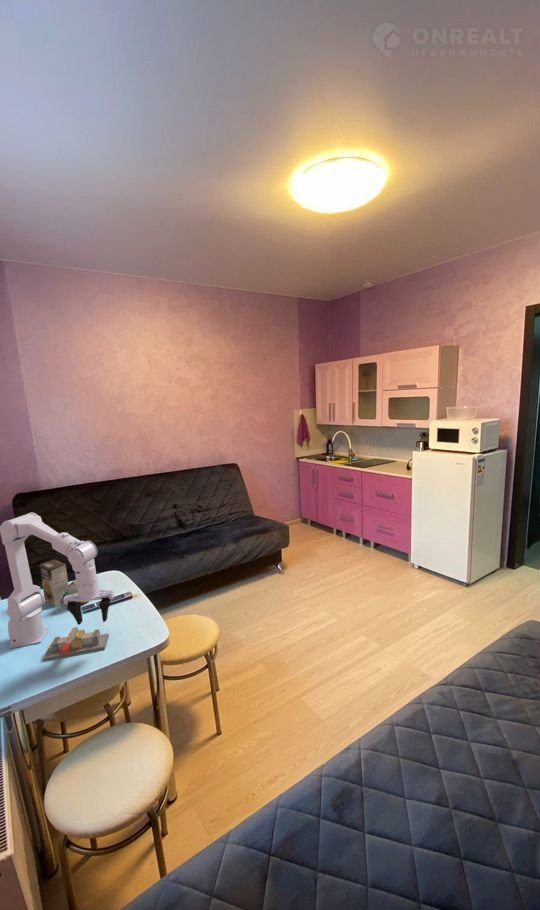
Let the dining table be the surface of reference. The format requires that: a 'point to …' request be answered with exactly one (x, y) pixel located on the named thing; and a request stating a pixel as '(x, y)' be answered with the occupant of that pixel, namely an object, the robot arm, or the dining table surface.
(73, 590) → the food container
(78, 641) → the pipe and valve
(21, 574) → the robot arm
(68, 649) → the valve lever
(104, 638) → the board
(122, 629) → the dining table surface
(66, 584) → the coffee box
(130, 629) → the dining table surface
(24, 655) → the dining table surface
